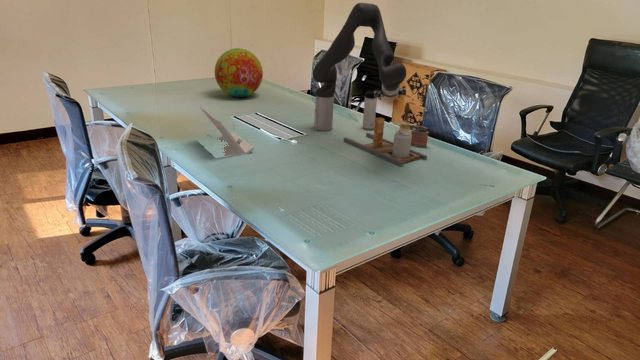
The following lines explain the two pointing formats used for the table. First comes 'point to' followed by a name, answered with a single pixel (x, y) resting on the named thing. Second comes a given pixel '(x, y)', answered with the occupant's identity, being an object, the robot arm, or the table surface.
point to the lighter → (419, 136)
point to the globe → (238, 72)
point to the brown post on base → (385, 146)
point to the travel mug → (369, 111)
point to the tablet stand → (229, 138)
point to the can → (402, 144)
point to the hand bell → (405, 124)
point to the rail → (380, 154)
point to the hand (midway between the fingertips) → (389, 96)
